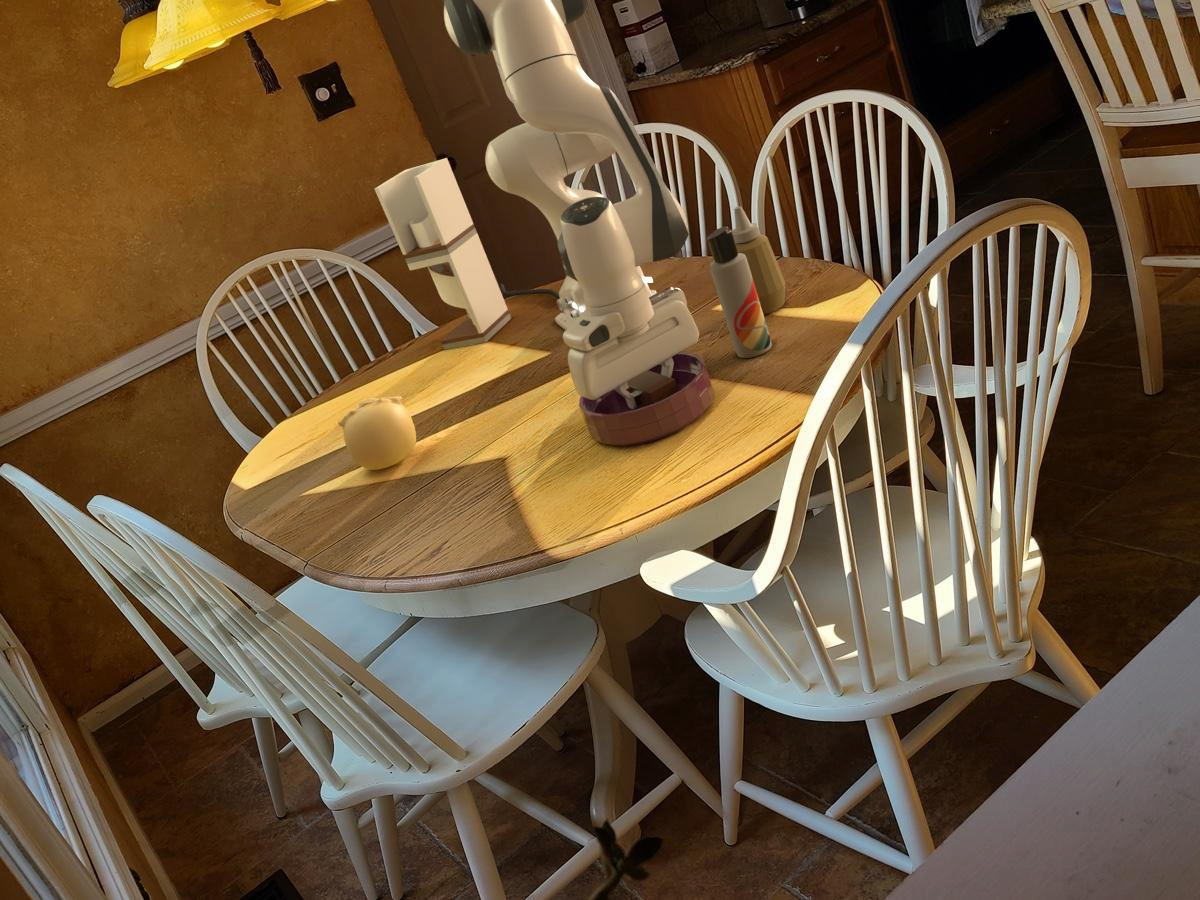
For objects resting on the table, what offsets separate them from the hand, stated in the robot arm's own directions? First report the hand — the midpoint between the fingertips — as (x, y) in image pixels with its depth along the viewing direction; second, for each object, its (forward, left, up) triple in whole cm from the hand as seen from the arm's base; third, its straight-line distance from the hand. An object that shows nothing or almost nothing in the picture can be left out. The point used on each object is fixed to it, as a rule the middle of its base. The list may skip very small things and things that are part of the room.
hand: (651, 397), depth 163 cm
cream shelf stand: (-77, +3, -3) cm, 77 cm away
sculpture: (-36, -32, -3) cm, 48 cm away
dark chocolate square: (0, 0, -2) cm, 2 cm away
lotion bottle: (-2, +20, -3) cm, 21 cm away
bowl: (0, -1, -3) cm, 3 cm away
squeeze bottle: (-14, +32, -3) cm, 35 cm away
